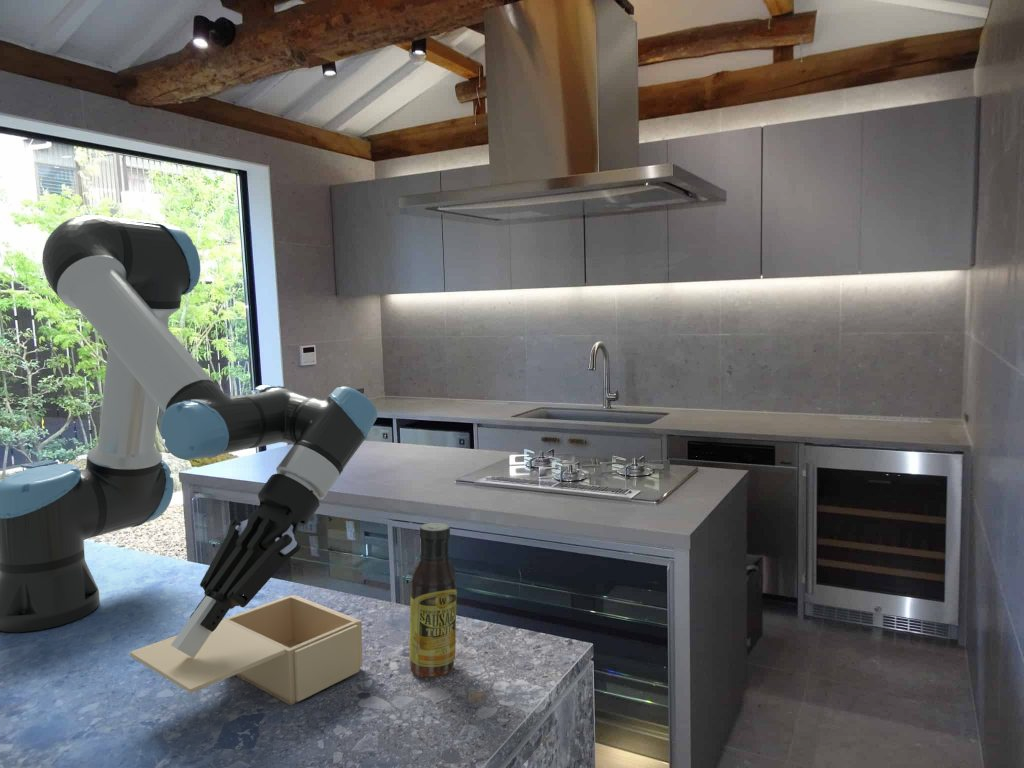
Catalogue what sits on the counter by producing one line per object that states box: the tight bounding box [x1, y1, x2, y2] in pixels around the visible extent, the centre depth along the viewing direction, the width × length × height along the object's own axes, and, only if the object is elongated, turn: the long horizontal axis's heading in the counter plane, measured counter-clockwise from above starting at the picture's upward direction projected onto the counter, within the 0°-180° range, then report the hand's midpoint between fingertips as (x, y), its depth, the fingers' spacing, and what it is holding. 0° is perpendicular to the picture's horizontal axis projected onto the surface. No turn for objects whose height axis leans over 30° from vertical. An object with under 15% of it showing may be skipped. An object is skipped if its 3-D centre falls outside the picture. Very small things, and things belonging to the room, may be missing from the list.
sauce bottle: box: [408, 522, 458, 679], centre depth 97 cm, size 7×6×20 cm
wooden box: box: [223, 594, 363, 707], centre depth 98 cm, size 16×12×7 cm
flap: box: [129, 619, 285, 694], centre depth 88 cm, size 14×1×12 cm
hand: (182, 651), depth 85 cm, fingers closed
